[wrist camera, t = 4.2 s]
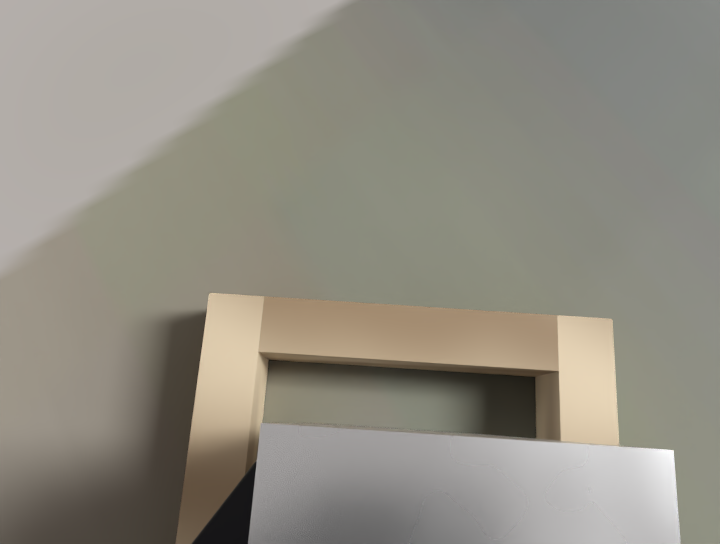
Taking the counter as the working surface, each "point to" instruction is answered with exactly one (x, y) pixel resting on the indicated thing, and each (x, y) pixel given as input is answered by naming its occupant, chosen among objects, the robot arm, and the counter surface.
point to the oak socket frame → (381, 349)
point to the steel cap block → (456, 489)
